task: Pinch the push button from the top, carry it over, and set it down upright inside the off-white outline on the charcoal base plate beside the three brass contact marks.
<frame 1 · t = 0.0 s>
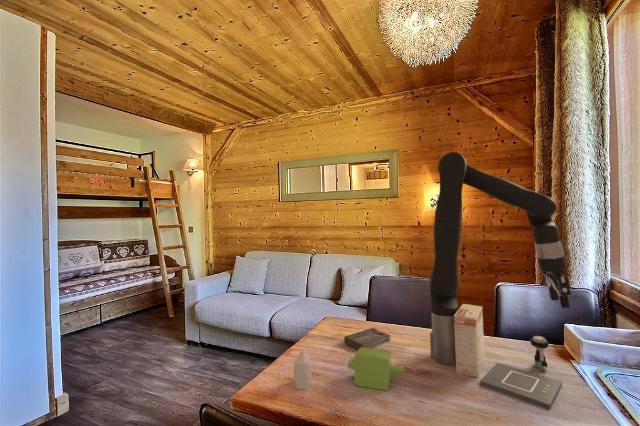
hand: (560, 303, 105), 22 cm above the table, tool pointing down, fingers open, 8 cm apart
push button: (541, 368, 107), on the table
box: (367, 344, 134), on the table
squeeze bottle: (303, 385, 103), on the table
gearbox: (376, 381, 103), on the table
coffeecake box: (470, 366, 111), on the table
socket plate: (520, 384, 98), on the table
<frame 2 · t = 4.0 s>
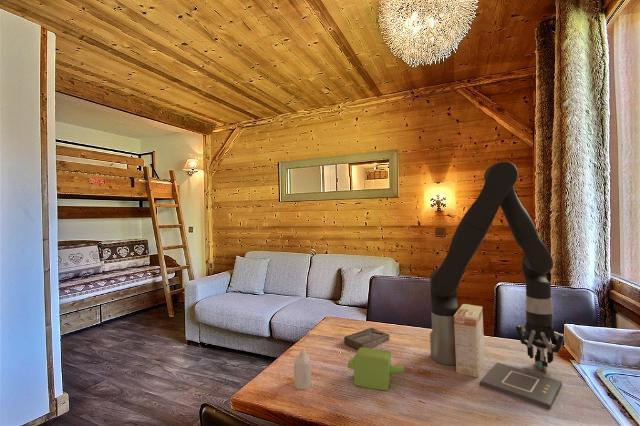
hand: (540, 359, 107), 3 cm above the table, tool pointing down, fingers closed on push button, 4 cm apart
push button: (541, 368, 107), on the table, touching gripper
everything else where it was.
when the fingers open (5 cm above the table, at t = 10.1 s): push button stays where it is, resting on socket plate.
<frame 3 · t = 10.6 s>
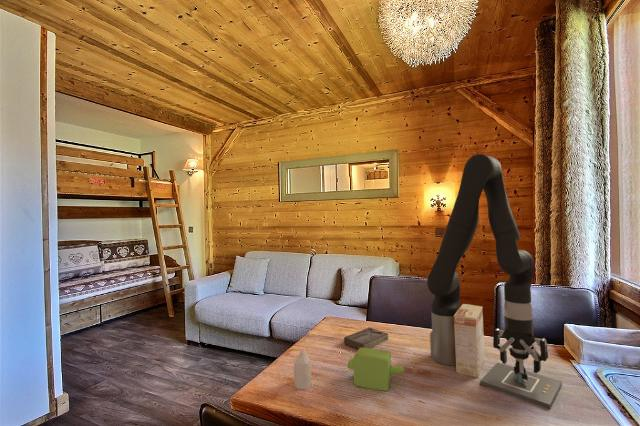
hand: (520, 367, 98), 5 cm above the table, tool pointing down, fingers open, 8 cm apart
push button: (521, 381, 98), point 1 cm above the table, touching socket plate
everything else where it was.
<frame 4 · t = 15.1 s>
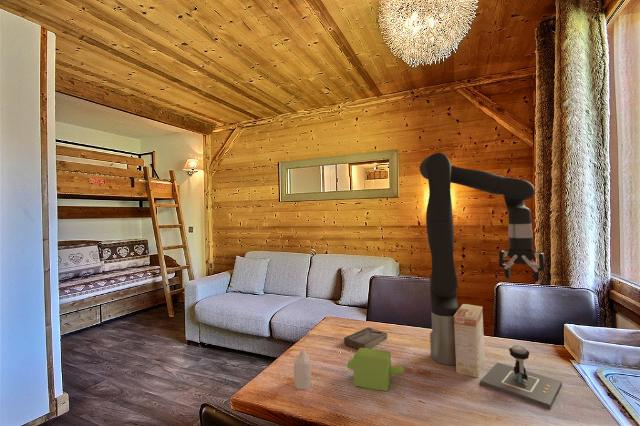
hand: (522, 280, 115), 28 cm above the table, tool pointing down, fingers open, 8 cm apart
at the end: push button 0.1 cm off-centre on the socket plate, point 1.0 cm above the socket plate's base; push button tilted 0°; the gripper is holding nothing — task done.
